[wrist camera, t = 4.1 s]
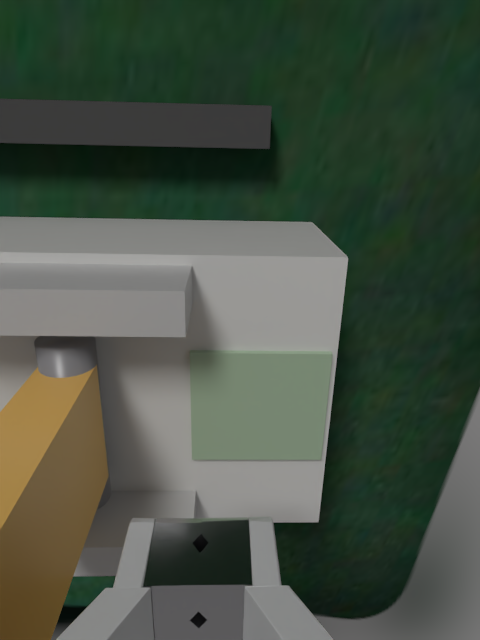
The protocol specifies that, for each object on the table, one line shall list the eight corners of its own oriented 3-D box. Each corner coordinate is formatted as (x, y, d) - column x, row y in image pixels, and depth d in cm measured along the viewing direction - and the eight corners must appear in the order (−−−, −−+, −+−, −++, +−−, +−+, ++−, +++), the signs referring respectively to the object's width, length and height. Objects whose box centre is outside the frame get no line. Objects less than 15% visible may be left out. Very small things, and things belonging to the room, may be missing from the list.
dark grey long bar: (-158, 138, 17) (-190, 138, 16) (-170, 97, 16) (-204, 93, 15) (266, 148, 18) (269, 148, 16) (267, 108, 17) (271, 105, 16)
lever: (69, 478, 15) (-109, 859, 7) (46, 327, 13) (-237, 620, 5) (116, 478, 16) (-8, 855, 7) (101, 328, 13) (-96, 619, 5)
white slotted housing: (-35, 425, 22) (-181, 584, 14) (-86, 215, 18) (-323, 272, 10) (295, 426, 22) (332, 581, 15) (312, 222, 19) (373, 281, 11)
